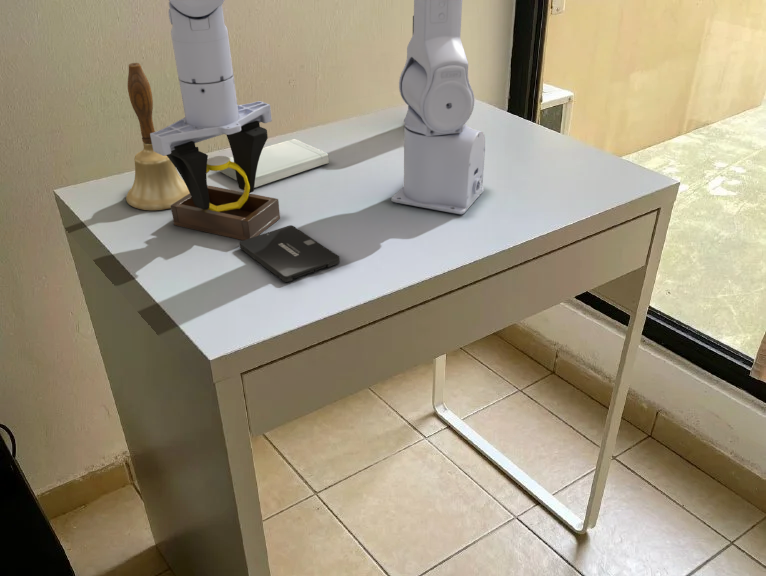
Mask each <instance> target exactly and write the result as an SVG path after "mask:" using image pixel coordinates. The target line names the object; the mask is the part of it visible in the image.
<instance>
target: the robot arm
mask: <svg viewBox="0 0 766 576" xmlns="http://www.w3.org/2000/svg"><path fill="white" fill-rule="evenodd" d="M168 1H169V2H168V7H169V8H168V19H169V22H170V25H172V26H171V28H170V29H171V30H170V37H171V43H172V48H173V54H174V61H175V66H176V72H177V78H178V82H179V88H180V94H181V100H182V107H183V112H184V117H183V118H181V119H179V120H177V121H175V122H173V123H171V124H169V125H167V126H166V127H163V128H161V129H159V130H155V132H153V133H150V136H151V141H152V146H153V151H154V152H156V153H158V154H161V155H163V156H165V155H166V156H167V157H168V158H169V159H170V161H171V162H172V163H173V165H174V166H175V168H176V170H177V172H178V174H179V176H180V177H181V179H182V180H183V181H184V182H185V184H186V186H187V188H188V190H189V192H190V194H191V197H192V199H193V202H194V205H195V206H197V207H199V208H201V209H203V210H206V209H209V208H210V200H209V194H208V187H207V185H208V181H207V178H208V177H207V174H206V169H207V159H209V155H208V154H206V153H205V152H203V151H200V150H199V147H198V146H196V143H200V142H203V141H207V140H210V139H212V138H213V139H214V138H216V137H219V136H222V135H226V137H227V141H228V144H229V147H230V150H231V154H232V157H233V159H234V163H236V164H238V165H239V166H240V167H241V168H242V169H243V170H244V172H245V173H246V176H247V179H248V182H249V185H250V191H249V193H250V194H252V193H253V192H254V191H255V188H254V185H255V177H256V171H257V166H258V161H259V158H260V155H261V152H262V149H263V148H264V146H265V145H266V142H267V141H268V139H269V138H268V137H269V136H268V130H267V128H264V127H262V126H261V125H260V124H261V123H262V124H268V123H271V122H272V121H273V118H272V110H271V104H270V103H267V102H265V101H261V100H257V101H253V102H249V103H244V104H238V99H237V91H236V84H235V83H236V82H235V76H234V75H235V74H234V69H233V68H234V67H233V61H232V59H233V58H232V51H231V45H230V37H229V30H228V27H227V26H226V24H225V15H224V8H223V5H224V2H225V0H168ZM462 13H463V0H413V16H414V33H413V32H412V36H411V38H410V40H409V41H408V44H407V47H406V59H405V60H406V61H405V64H404V66H403V69H402V71H401V73H400V76H399V80H398V90H399V94H400V96H401V99H402V101H403V102H404V103H405V104H406V105H407V112H406V115H405V116H404V119H403V127H404V128H403V186H402V187H401V188H400V189H399V190H398V191H397V192H396V193H395V194H394V195H392V196H391V199H390V200H391V202H392V203H398V204H401V205H407V206H413V207H419V208H424V209H428V210H434V211H440V212H445V213H450V214H456V215H464V214H465V213H466V212H467V210H468V209H469V208H470V207H471V206H472V205H473V204H474V203H475V202H476V201H477V199H479V197H480V196H481V195H482V193H483V192H484V191H485V187H484V186H483V184H484V170H485V156H486V137H485V133H484V132H483V131H481V130H479V129H475V128H472V127H470V126H469V125H467V124H466V123H467V122H468V121H469V119H470V117H471V116H472V114H473V111H474V109H475V108H474V107H475V94H474V90H473V88H472V85H471V83H470V80H469V61H468V57H467V54H466V51H465V49H464V45H463V42H462V39H461V32H462ZM235 172H236V178H237V180H236V182H237V186H238V189H239V190H242V191H244V188H245V181H244V178H243V176H242V175H241V174H240V173H239V172H238V171H237V170H235Z"/></svg>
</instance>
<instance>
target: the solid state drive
mask: <svg viewBox="0 0 766 576" xmlns="http://www.w3.org/2000/svg"><path fill="white" fill-rule="evenodd" d="M239 248H240V250H242V251H243V252H244V253H246V254H247V255H248V256H250V257H251V258H252V259H253V260H255V261H256V262H257V263H260V265H261V266H263V267H264V268H266V269H267V270H268V271H270V272H271V274H274V275H275V276H276V277H277V278H279V279H280V280H282V281H283V282H285V283H289V282H292V281H294V279H296V278H298V277H301V276H304V275H307V274H309V273H313V274H314V273H315V272H317V271H318V270H320V269H323V268H331V267H333V266H335V265H338V264H340V263H341V262H340V261H341V260H340V256H339V255H338V254H336V253H335V252H334V251H332V250H331V249H329V248H327V247H326V246H324V245H323V244H321V243H320V242H318V241H317V240H316V239H314V238H312V237H311V236H310V235H308V234H307V233H304V232H303V231H302V230H300V229H298V228H297V227H296V226H294V225H286V226H284V227H280V228H277V229H274V230H271V231H267V232H265V233H263V234H262V233H261V234H260V235H258V236H256V237H252V238H249V239H246V240H240V241H239Z"/></svg>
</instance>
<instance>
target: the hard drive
mask: <svg viewBox="0 0 766 576" xmlns="http://www.w3.org/2000/svg"><path fill="white" fill-rule="evenodd" d="M329 156H330V155H329V153H327V152H326V151H323V150H322V149H319V148H317V147H315V146H312V145H311V144H307V143H306V142H303V141H301V140H299V139H296V138H292V139H288V140H284V141H282V142H278V143H274V144H271V145H268V146H265V147H263V149H262V152H261V155H260V158H259V161H258V166H257V171H256V177H255V185H254V189H255V188H258V187H261V186H264V185H267V184H270V183H273V182H275V181H278V180H282V179H286V178H287V177H291V176H293V175H296V174H299V173H302V172H306V171H308V170H311V169H314V168H317V167H321V166H323V165H326V164H327V165H328V164H329V163H330V159H329ZM229 159H230V161H231V162H234V159H233V156H230V157H229ZM219 172H220V173H222V174H224V175H225V176H227V177H229V178H231V179H233V180H235V181H237V178H236V172H235V169H232V168H229V167H228V168H227V169H224V170H220V171H219Z"/></svg>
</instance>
